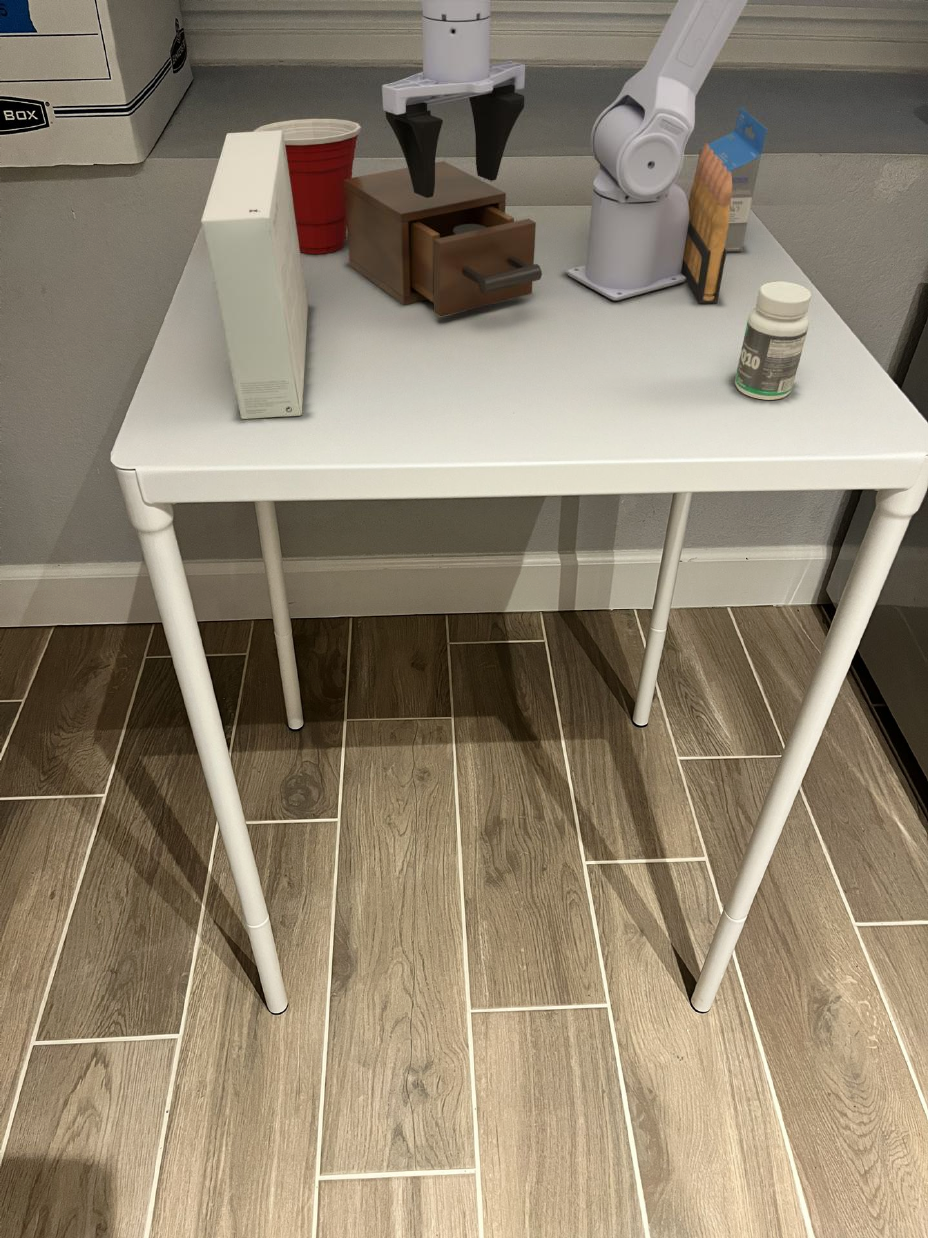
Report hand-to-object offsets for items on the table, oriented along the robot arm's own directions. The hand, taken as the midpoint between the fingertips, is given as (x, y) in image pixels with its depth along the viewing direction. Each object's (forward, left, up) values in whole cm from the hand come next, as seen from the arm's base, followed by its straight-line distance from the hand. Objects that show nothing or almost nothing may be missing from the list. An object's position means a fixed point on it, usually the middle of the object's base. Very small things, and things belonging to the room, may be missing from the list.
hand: (455, 185), depth 89 cm
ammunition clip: (-22, +11, -10) cm, 27 cm away
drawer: (0, +3, -9) cm, 10 cm away
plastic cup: (+6, -19, -10) cm, 22 cm away
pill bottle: (-12, +30, -10) cm, 34 cm away
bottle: (0, +3, -8) cm, 9 cm away
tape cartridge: (-32, +3, -10) cm, 34 cm away
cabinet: (0, -6, -10) cm, 11 cm away
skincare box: (+21, +4, -10) cm, 24 cm away
